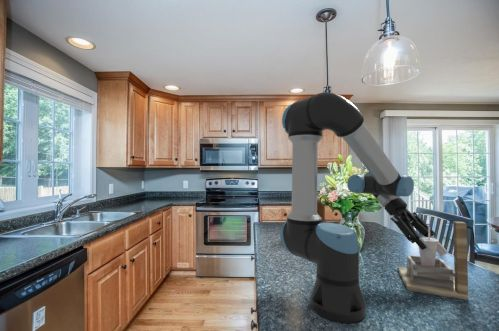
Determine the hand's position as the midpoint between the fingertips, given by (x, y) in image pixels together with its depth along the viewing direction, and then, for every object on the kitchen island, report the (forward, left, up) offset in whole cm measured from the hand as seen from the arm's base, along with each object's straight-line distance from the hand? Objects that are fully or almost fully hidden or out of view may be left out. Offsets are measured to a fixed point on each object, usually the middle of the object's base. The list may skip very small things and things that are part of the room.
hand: (439, 255), depth 83 cm
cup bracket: (+2, +3, -11) cm, 11 cm away
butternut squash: (+47, +48, -11) cm, 68 cm away
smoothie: (+2, +3, -5) cm, 6 cm away
